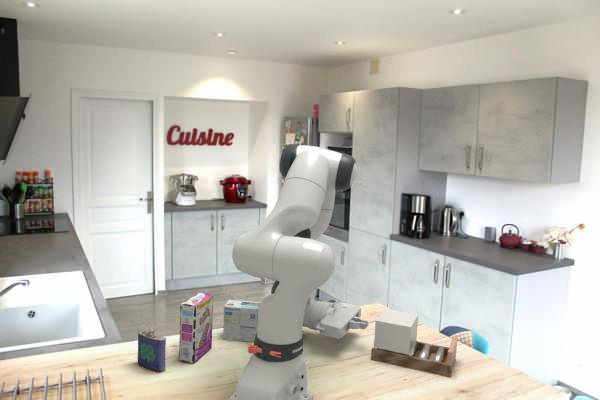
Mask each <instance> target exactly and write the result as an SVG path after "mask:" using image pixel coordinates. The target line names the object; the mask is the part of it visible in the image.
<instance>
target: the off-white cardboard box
mask: <svg viewBox="0 0 600 400" xmlns="http://www.w3.org/2000/svg"><path fill="white" fill-rule="evenodd" d="M374 323H375V325H374V337H373V341H374V342H373V348H376V349H377V348H379V349H384V350H389V351H393V352H398V353H403V354H408V355H409V354H410V352H411V350H412V348H413V346H414V344H415V342H416V341H417V336H418V326H419V325H418V323H419V314H417V313H416V314H415V313H411V312H406V311H405V312H404V311H401V310H400V311H399V310H393V309H390V308H389V309H388V308H384V309H383V311H382V312H381V313H380V314H379V316H378V317H377V318H376V319H375V322H374Z"/></svg>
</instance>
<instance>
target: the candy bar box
mask: <svg viewBox="0 0 600 400" xmlns="http://www.w3.org/2000/svg"><path fill="white" fill-rule="evenodd" d="M179 313H180V315H179V342H178V343H179V344H178V345H179V349H178V350H179V351H178V361H179V362H183V363H187V364H193V365H194V364H195V363H196V362H197V361H199V359H201V358H202V357H203V356H204V355H205V354H206V353H208V352H209V351H210V350H211V349H212V348H213V347H212V344H213V318H214V294H209V293H204V292H198V293H196V294H195V295H193V296H192V297H190V298H188V299H186V300H185V301H183V302H181V303H180V310H179Z"/></svg>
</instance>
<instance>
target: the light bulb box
mask: <svg viewBox="0 0 600 400" xmlns="http://www.w3.org/2000/svg"><path fill="white" fill-rule="evenodd" d="M260 302H261V301H253V300H251V301H250V300H249V301H248V300H234V299H229V300H227V302H226V303H225V305H224V306H223V329H222V330H223V334H222V339H223V340H228V341H229V340H230V341H238V342H239V341H240V342H249V343H250V342H251V343H254V339H255V335H256V333H257V318H258V307H259V304H260Z"/></svg>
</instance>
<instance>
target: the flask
mask: <svg viewBox="0 0 600 400" xmlns="http://www.w3.org/2000/svg"><path fill="white" fill-rule="evenodd" d="M155 331H156V329H155V328H147V330H146V329H145V330H140V331H138V333H137V366H138V367H140V368H142V367H143V369H144V368H145V369H144V370H148V371H152V372H156V373H163V372H165V371H166V369H167V365H166V364H167V363H166V360H167V359H166V355H167V354H166V348H167V345H166V344H167V337H165V336H161V335H157V334H155Z"/></svg>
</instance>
